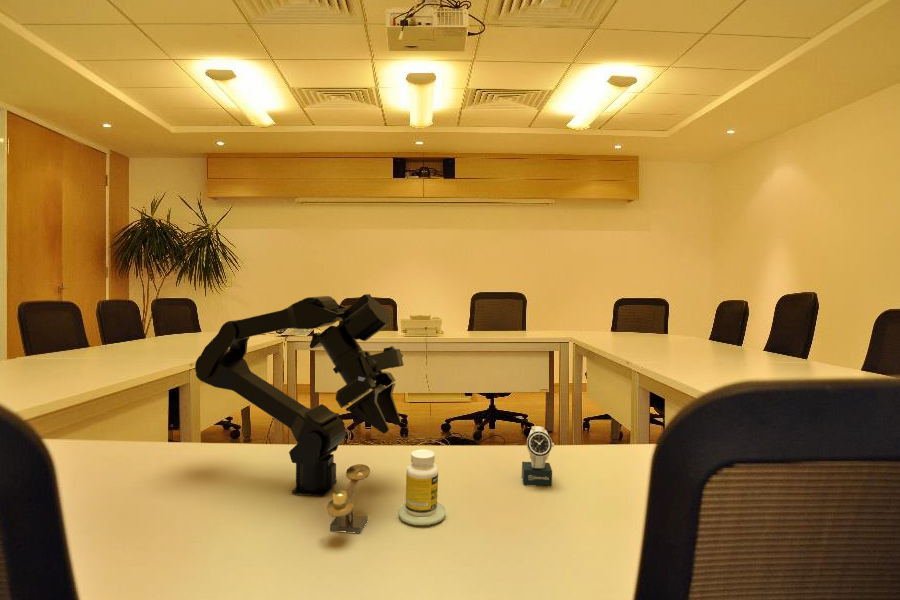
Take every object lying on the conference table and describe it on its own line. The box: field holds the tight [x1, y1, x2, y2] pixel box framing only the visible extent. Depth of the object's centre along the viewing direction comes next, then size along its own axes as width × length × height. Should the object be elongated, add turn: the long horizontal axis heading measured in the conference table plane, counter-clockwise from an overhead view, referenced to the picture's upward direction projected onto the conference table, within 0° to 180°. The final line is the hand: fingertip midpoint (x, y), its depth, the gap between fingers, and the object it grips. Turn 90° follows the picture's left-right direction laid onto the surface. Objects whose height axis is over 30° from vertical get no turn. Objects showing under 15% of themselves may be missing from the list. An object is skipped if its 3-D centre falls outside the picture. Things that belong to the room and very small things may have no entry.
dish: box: [398, 501, 447, 526], centre depth 86 cm, size 8×8×1 cm
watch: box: [521, 425, 555, 487], centre depth 101 cm, size 6×8×11 cm
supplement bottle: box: [405, 449, 439, 516], centre depth 86 cm, size 5×5×10 cm
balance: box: [326, 463, 371, 534], centre depth 82 cm, size 5×13×8 cm, turn 173°
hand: (392, 427), depth 90 cm, fingers open, 9 cm apart
